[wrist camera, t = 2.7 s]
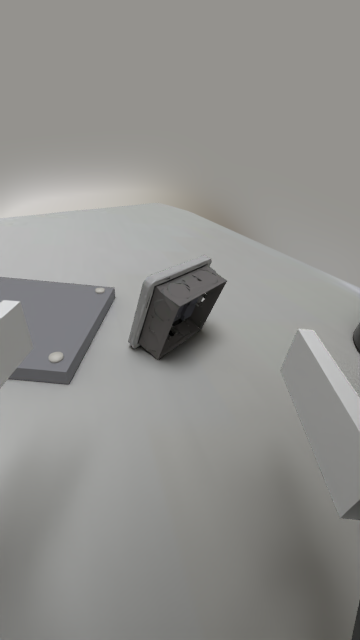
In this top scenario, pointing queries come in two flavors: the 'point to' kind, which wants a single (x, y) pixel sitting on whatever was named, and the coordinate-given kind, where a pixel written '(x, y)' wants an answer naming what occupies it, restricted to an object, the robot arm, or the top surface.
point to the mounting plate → (56, 324)
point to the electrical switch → (174, 305)
